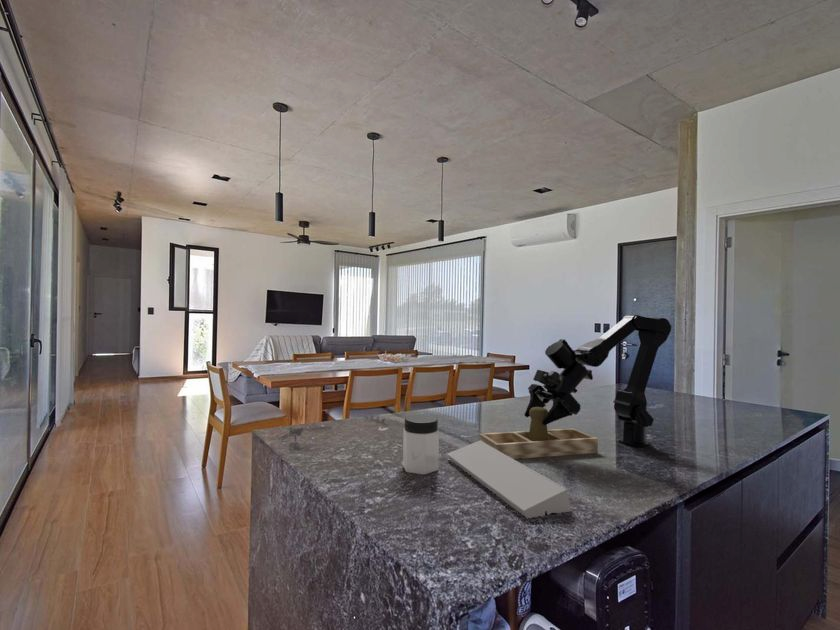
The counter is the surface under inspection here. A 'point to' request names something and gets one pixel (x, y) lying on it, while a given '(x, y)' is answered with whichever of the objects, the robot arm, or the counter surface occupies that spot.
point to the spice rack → (541, 443)
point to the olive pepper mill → (538, 424)
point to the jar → (420, 444)
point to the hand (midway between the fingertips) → (533, 419)
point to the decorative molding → (511, 480)
